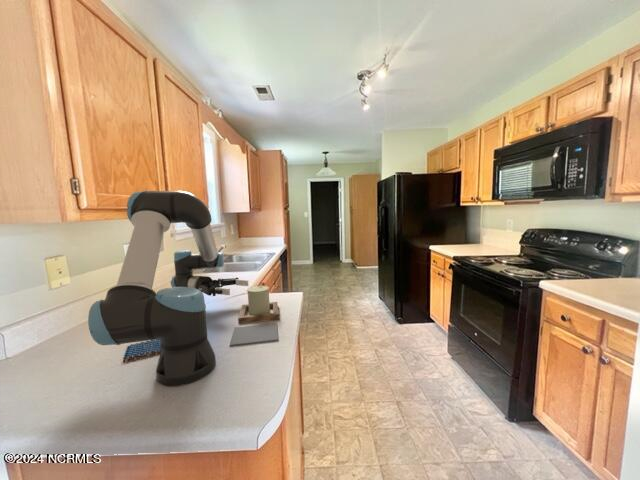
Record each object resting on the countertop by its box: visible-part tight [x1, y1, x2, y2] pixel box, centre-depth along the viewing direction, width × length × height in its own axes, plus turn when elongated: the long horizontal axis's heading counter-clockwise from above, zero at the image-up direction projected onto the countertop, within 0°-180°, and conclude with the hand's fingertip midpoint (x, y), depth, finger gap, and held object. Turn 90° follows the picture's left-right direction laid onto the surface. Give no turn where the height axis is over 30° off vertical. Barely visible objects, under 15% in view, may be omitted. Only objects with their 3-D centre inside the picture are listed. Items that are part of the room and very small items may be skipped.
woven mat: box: [122, 339, 161, 363], centre depth 88 cm, size 10×11×2 cm
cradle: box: [237, 301, 280, 324], centre depth 117 cm, size 16×16×2 cm
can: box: [247, 285, 271, 315], centre depth 116 cm, size 9×9×12 cm
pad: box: [229, 322, 279, 348], centre depth 97 cm, size 16×14×1 cm
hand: (239, 287), depth 119 cm, fingers open, 13 cm apart
